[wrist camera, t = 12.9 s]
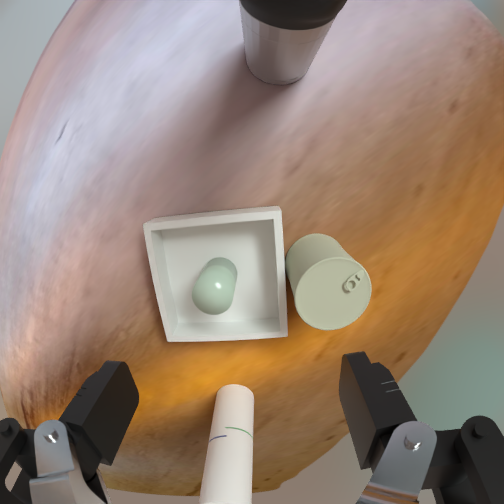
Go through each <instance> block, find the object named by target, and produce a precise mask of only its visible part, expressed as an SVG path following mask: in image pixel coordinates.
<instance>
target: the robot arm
mask: <svg viewBox="0 0 504 504" xmlns="http://www.w3.org/2000/svg"><path fill="white" fill-rule="evenodd" d="M346 1H347V0H239V4H240V12H241V19H242V28H243V37H244V46H245V55H246V62H247V65H248V68H249V69H250V71H251V72H252V73H253V74H254V75H255V76H256V77H257V78H259V79H260V80H262V81H264V82H267V83H270V84H274V85H285V84H290V83H293V82H296V81H297V80H299V79H301V78H302V77H303V76H304V75H305V73H306V72H307V71H308V69H309V67H310V65H311V63H312V61H313V59H314V57H315V55H316V54H317V52H318V50H319V48H320V46H321V44H322V42H323V40H324V38H325V36H326V34H327V33H328V31H329V29H330V27H331V25H332V23H333V21H334V19H335V17H336V16H337V14H338V12H339V11H340V10H341V9H342V8H343V6H344V5H345V3H346ZM339 396H340V401H341V404H342V408H343V411H344V414H345V417H346V421H347V424H348V427H349V430H350V434H351V437H352V440H353V444H354V447H355V451H356V454H357V458H358V461H359V465H360V468H361V470H362V469H366V468H370V467H371V469H372V472H373V475H372V477H371V479H370V481H369V482H368V484H367V486H366V488H365V489H364V491H363V493H362V494H361V496H360V498H359V499H358V501H357V503H356V504H419V501H417V498H418V495H419V492H420V490H423V489H432V491H433V494H434V497H435V500H436V504H504V436H503V435H502V433H501V431H500V430H499V428H498V427H497V425H496V423H495V422H494V421H493V420H491V419H490V418H488V417H485V416H474V417H471V418H469V419H468V420H466V422H465V423H464V424H463V426H462V427H461V429H454V430H445V431H435V430H434V429H433V428H432V427H431V426H429V425H427V424H426V423H423V422H419V421H417V419H416V418H415V416H414V414H413V412H412V410H411V408H410V407H409V405H408V403H407V401H406V399H405V397H404V396H403V394H402V392H401V390H399V387H398V385H397V383H396V382H395V380H394V378H393V376H392V374H391V373H390V371H389V370H388V369H387V368H386V367H384V366H383V365H382V364H380V363H379V362H378V363H373V364H371V363H370V361H369V359H368V357H367V355H366V353H365V352H364V351H362V352H356V353H349V354H344V355H343V357H342V364H341V373H340V381H339ZM138 403H139V393H138V390H137V387H136V385H135V382H134V380H133V378H132V375H131V373H130V370H129V368H128V365H127V364H126V363H125V362H120V361H109V360H108V361H106V362H105V363H104V364H103V365H102V367H101V368H100V370H99V371H98V372H97V371H96V372H95V373H94V374H92V375H91V376H90V377H88V378H87V379H86V381H85V382H84V383H83V385H82V386H81V389H79V391H78V392H77V393H76V396H74V398H73V399H72V401H71V402H70V404H69V405H68V406H67V408H66V409H65V411H64V412H63V414H62V415H61V417H60V418H59V420H48V421H45V422H43V423H42V424H40V425H39V426H38V427H37V429H36V430H33V429H23V428H22V427H21V426H20V424H19V423H18V421H17V420H16V419H14V418H5V419H3V420H1V421H0V504H113V503H112V501H111V499H110V496H109V494H108V491H107V489H106V486H105V483H104V481H103V478H102V475H101V472H100V470H99V469H98V466H99V464H100V463H102V464H106V465H110V466H111V465H112V463H113V460H114V458H115V456H116V453H117V451H118V449H119V446H120V444H121V442H122V440H123V437H124V435H125V433H126V430H127V428H128V426H129V424H130V421H131V419H132V417H133V415H134V413H135V410H136V408H137V406H138ZM14 462H16V463H17V464H18V465H19V466H20V467H21V468H22V471H21V472H20V474H19V476H18V478H17V480H16V482H15V484H14V486H13V488H12V490H11V492H10V491H9V490H8V489H7V488H6V486H5V478H6V476H7V475H8V473H9V471H10V469H11V467H12V465H13V464H14Z"/></svg>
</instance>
